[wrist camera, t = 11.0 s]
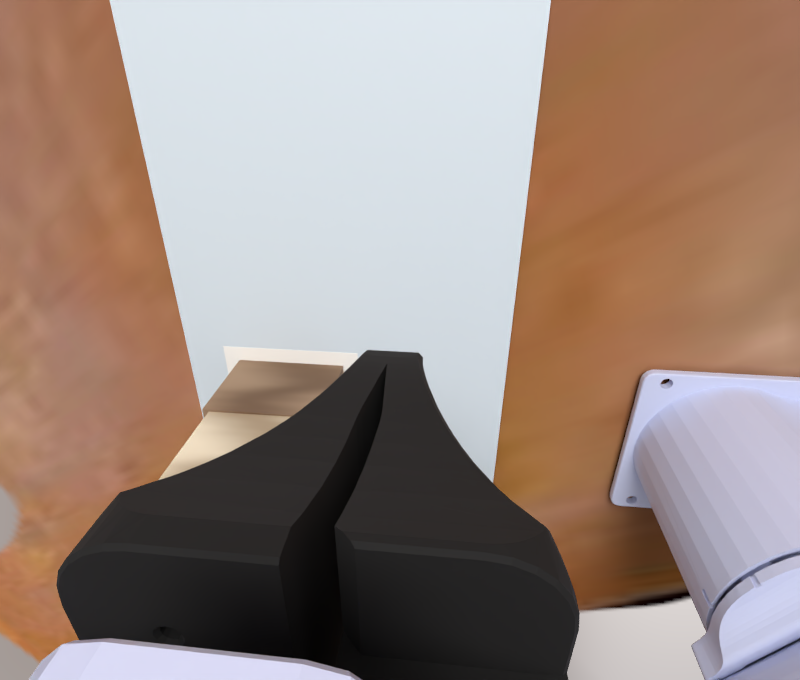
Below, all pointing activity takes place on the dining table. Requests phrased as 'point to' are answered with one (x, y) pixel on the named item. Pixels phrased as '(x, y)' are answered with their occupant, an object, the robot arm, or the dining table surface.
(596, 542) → the dining table surface
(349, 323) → the pale grey rectangular board
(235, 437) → the birch block
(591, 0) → the dining table surface
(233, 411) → the walnut base block
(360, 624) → the robot arm
